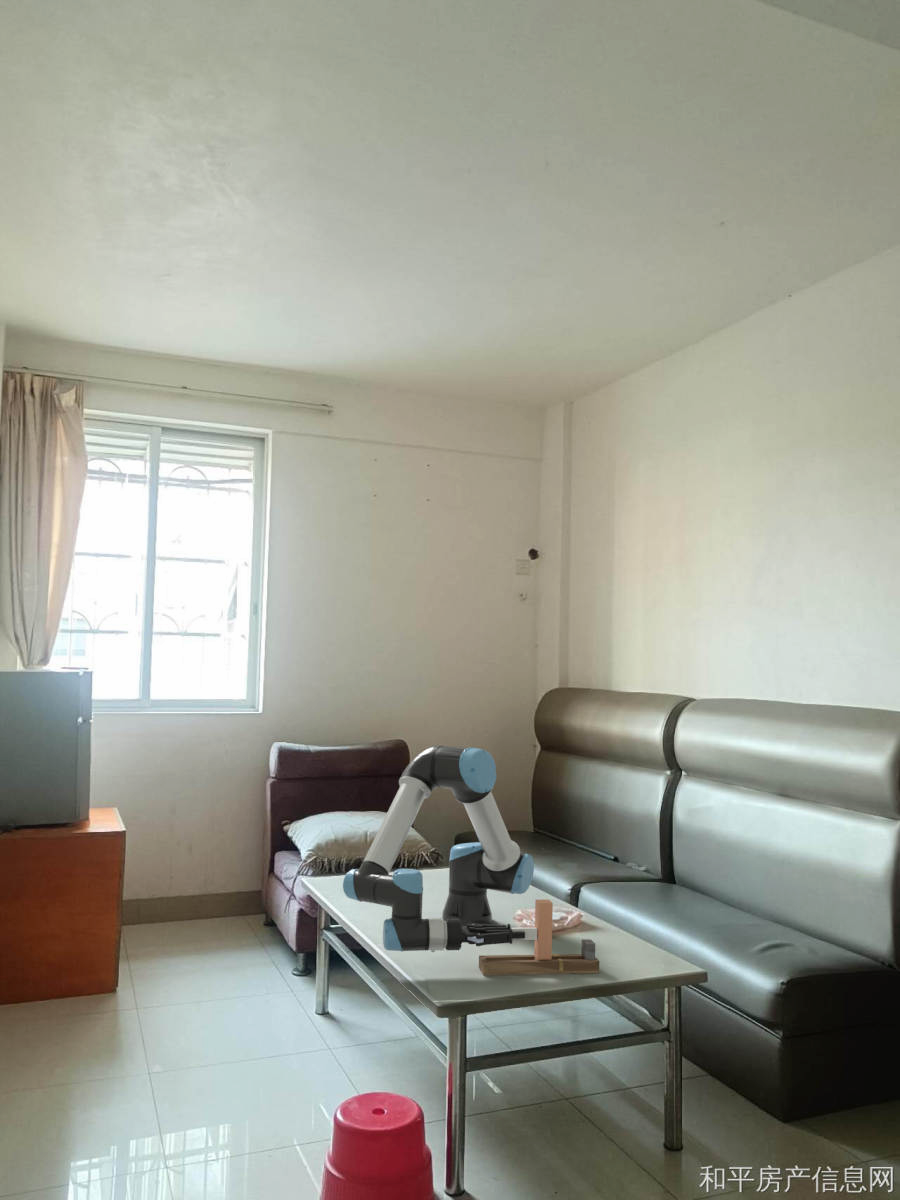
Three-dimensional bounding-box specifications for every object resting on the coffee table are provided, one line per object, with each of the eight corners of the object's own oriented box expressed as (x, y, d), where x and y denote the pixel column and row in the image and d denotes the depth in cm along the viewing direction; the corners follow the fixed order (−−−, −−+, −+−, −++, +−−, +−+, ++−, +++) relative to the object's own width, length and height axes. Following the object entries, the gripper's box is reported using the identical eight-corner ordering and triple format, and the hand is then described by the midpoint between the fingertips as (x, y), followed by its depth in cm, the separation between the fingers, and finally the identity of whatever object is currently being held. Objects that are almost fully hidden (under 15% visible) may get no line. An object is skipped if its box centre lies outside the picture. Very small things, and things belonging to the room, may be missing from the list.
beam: (478, 967, 236) (479, 939, 237) (591, 965, 241) (592, 938, 241) (483, 975, 230) (484, 946, 231) (599, 973, 235) (599, 944, 235)
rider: (533, 964, 237) (534, 899, 239) (548, 964, 238) (549, 899, 239) (536, 969, 234) (538, 903, 235) (552, 968, 234) (553, 902, 236)
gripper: (440, 942, 238) (530, 941, 241) (448, 957, 225) (542, 956, 229) (441, 912, 239) (530, 911, 242) (449, 926, 226) (543, 925, 229)
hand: (536, 933), depth 235 cm, fingers closed
